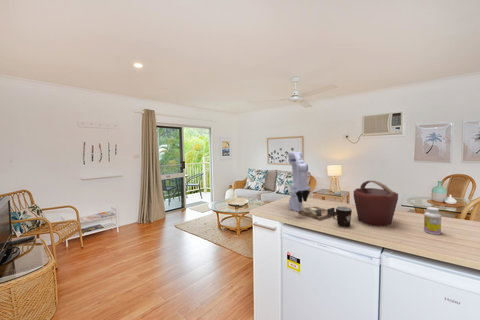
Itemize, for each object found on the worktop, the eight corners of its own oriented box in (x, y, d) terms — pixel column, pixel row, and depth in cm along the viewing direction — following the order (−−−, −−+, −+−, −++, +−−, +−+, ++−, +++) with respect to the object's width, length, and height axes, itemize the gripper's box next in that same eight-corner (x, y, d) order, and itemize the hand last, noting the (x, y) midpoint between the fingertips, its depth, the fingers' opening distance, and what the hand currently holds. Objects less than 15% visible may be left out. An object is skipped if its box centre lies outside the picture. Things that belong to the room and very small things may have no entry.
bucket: (404, 230, 116) (405, 184, 115) (360, 228, 121) (360, 184, 119) (383, 215, 140) (384, 178, 139) (347, 214, 145) (347, 178, 143)
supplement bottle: (423, 228, 117) (424, 205, 117) (440, 231, 113) (440, 207, 112) (424, 232, 112) (424, 208, 111) (441, 235, 108) (442, 211, 107)
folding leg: (318, 213, 140) (318, 209, 140) (315, 214, 139) (315, 210, 139) (304, 209, 150) (304, 205, 150) (301, 210, 149) (301, 206, 149)
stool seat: (298, 213, 149) (298, 205, 149) (314, 209, 159) (314, 201, 159) (320, 220, 134) (320, 211, 134) (337, 215, 144) (337, 206, 144)
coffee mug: (348, 222, 130) (348, 206, 129) (354, 228, 121) (354, 210, 120) (328, 222, 131) (328, 206, 130) (333, 227, 122) (333, 210, 122)
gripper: (299, 183, 133) (299, 204, 134) (314, 181, 141) (314, 201, 142) (291, 182, 139) (291, 202, 140) (306, 179, 147) (306, 199, 148)
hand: (302, 201), depth 141 cm, fingers open, 4 cm apart
